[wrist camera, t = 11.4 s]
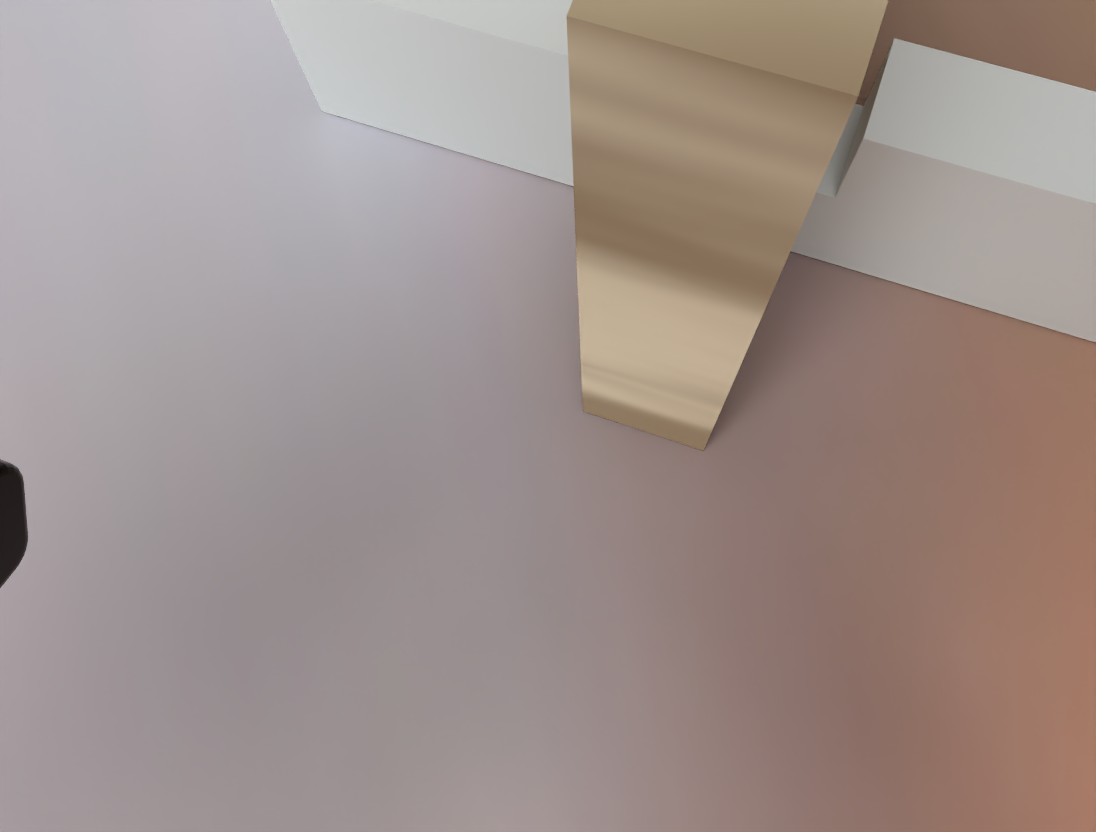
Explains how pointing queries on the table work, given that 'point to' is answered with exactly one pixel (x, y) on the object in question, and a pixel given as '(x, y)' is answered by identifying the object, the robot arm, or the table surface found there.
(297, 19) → the light grey slotted rail
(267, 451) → the table surface
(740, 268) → the birch slotted plate
